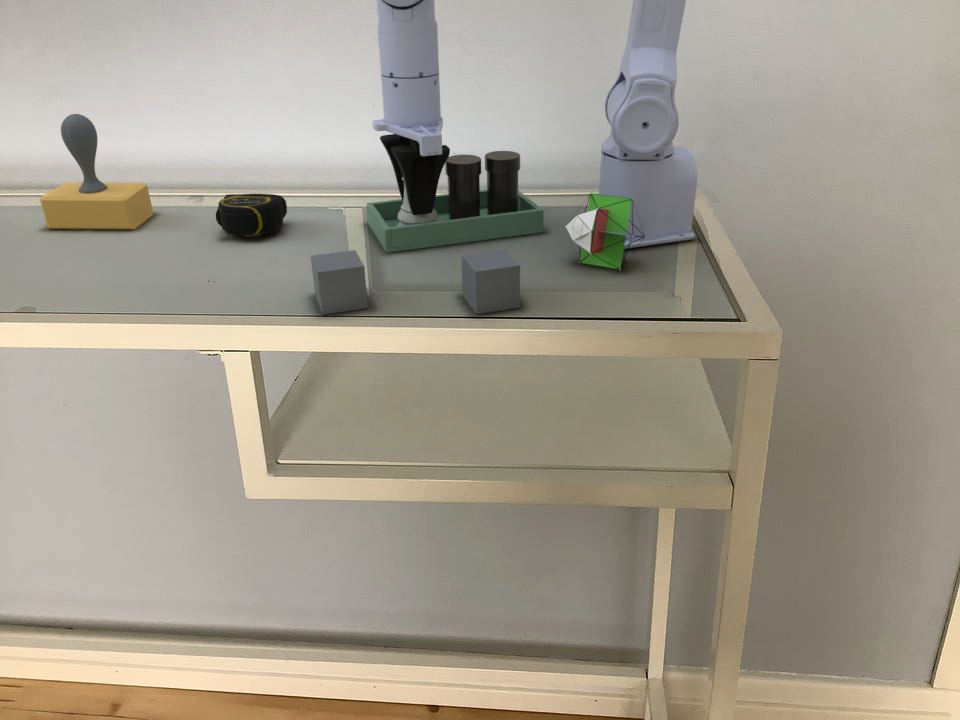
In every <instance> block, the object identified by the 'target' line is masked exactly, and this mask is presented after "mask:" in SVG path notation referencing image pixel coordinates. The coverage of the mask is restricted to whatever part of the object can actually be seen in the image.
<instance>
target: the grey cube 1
mask: <svg viewBox="0 0 960 720" xmlns="http://www.w3.org/2000/svg"><path fill="white" fill-rule="evenodd" d="M310 263H311V272H312V278H313V284H314V285H313V287H314V295H315V299H316V302H317V305H318V307H319V310H320V313H321V315H322V316H324V315H333V314H338V313H345V312H352V311H357V310H366V309H368V308H369V305H368V304H369V303H368V294H367V284H366V282H367V281H366V271H365V265H364V263H363V262H362V259H361V258H360V256H359V254H358V252H357V251H356V249H353V250H352V249H351V250H346V251H338V252H331V253H322V254H315V255H310Z"/></svg>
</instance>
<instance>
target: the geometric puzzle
mask: <svg viewBox="0 0 960 720" xmlns="http://www.w3.org/2000/svg"><path fill="white" fill-rule="evenodd" d="M586 199H587V202H586V206H585V209H584V212H582V213H579V214H576V215H575V214H574V215H573V216H572V218H570V220H569V221H568V222H567V224H565V225H564V228H565V229H566V232H567V234H568V236H569V238H570V241H571V242H572V243H571V244H572V246H574V244H576V245H577V246H579V248H581V250H580V257H579V258H577V259H578V260H577V261H579V262H578V264H585V265H591V266H596V267H602V268H608V269H614V270H619V271H622V268H623V266H624V265H625V264H626V263H627V261H628V260H629V259H630V257H631V255H633V253H634V252H635V251H636V249H637V248H639V247H638V246H637V247H635V249H634V250H633V252H632V253H631V254H630V255H629V257H628V259H626V256H627V254H628V252H629V249H630V248H629V247H628V248H627V249H626V252H625V254H624V250H625V249H624V247H625V246H624V244H625V240H627V239H629V238H627V239H625V238H626V236H632V237H630V238H633V237H642V238H643V239H644V237H646V236H645V235H644V234H643V233H644V232H643V233H642V232H641V231H640V230H639V229H638V228H637V227H636V226H635V225H634V224H633V206H632V222H631V221H630V220H629V215H630V209H631V203H632V201H633V198H631V199H630V198H623V197H615V196H608V195H600V194H599V193H598V194H597V193H592V192H589V195H588V196H587V197H586ZM584 202H585V201H583V202H582V204H584ZM633 204H634V203H633ZM581 206H582V205H580V207H579V208H581ZM587 207H588V208H587ZM635 209H636V208H635ZM578 210H579V209H577V211H576V212H578ZM636 212H637V211H636ZM637 215H638V214H637ZM638 218H639V217H638ZM628 221H630V222H631V223H632V234H630V233H629V232H627V227H628ZM639 221H640V220H639ZM640 224H641V223H640ZM633 225H634V226H635V227H636V228H637V229H638V230H639V231H640V232H641V233H642V234H643V235H644V236H638V235H633ZM641 227H642V226H641ZM642 230H643V229H642ZM626 232H627V233H629V234H626ZM642 238H640V239H642ZM640 239H638V240H640ZM638 240H636V241H638ZM631 241H632V239H631ZM636 241H634V242H636ZM634 242H632V243H634ZM573 243H574V244H573ZM632 243H631V242H630V244H632ZM640 243H641V242H640ZM630 244H628V245H629V246H630ZM626 246H627V245H626ZM573 249H574V251H576V250H575V248H573ZM575 254H576V256H577V253H575ZM623 256H624V257H623ZM625 260H626V261H625Z"/></svg>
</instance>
